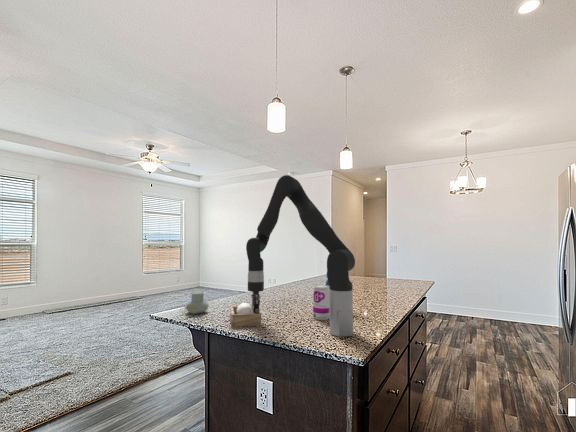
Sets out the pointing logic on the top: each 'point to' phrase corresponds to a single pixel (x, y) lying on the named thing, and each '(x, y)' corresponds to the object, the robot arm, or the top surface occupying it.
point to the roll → (244, 309)
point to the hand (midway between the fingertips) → (255, 318)
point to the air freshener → (197, 303)
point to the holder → (244, 318)
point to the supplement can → (321, 302)
